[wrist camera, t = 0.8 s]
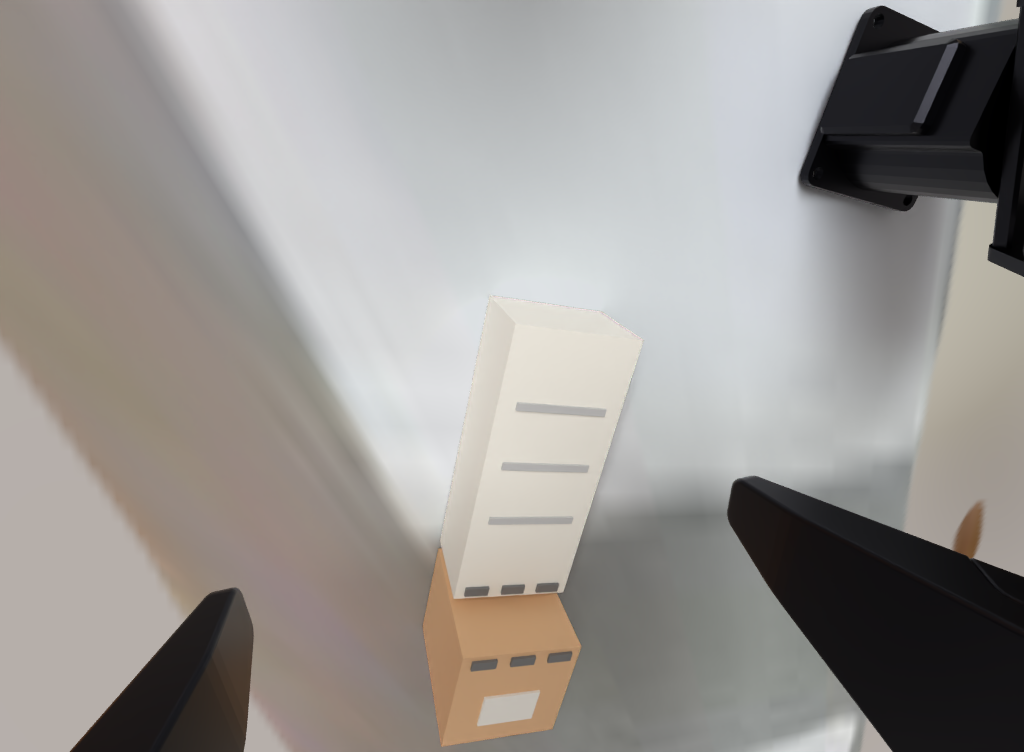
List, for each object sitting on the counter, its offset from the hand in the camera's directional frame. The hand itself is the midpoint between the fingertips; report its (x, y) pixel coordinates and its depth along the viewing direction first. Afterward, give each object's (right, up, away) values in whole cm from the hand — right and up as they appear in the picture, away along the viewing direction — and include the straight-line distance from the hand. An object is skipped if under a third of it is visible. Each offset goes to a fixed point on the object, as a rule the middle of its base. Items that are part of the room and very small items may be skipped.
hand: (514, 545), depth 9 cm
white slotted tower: (0, 0, +14) cm, 14 cm away
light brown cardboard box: (-2, -8, +17) cm, 19 cm away
